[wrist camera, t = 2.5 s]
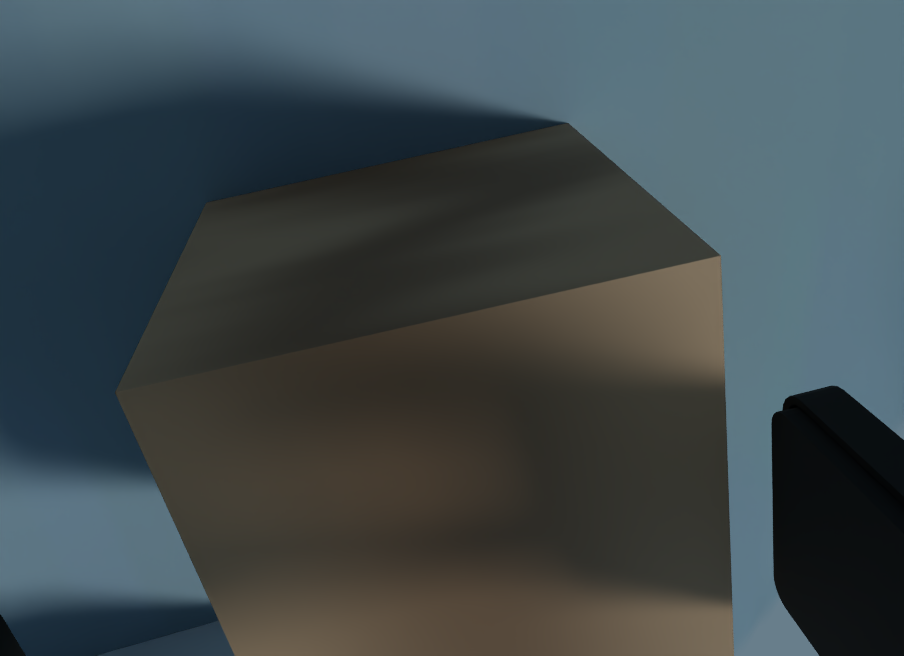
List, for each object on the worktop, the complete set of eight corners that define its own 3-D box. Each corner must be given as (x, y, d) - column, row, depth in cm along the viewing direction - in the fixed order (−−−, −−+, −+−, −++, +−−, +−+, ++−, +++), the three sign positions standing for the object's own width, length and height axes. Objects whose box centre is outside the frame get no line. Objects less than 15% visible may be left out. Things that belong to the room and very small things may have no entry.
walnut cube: (566, 121, 13) (721, 255, 8) (602, 420, 16) (734, 667, 11) (206, 200, 13) (114, 392, 8) (306, 488, 16) (289, 774, 10)
